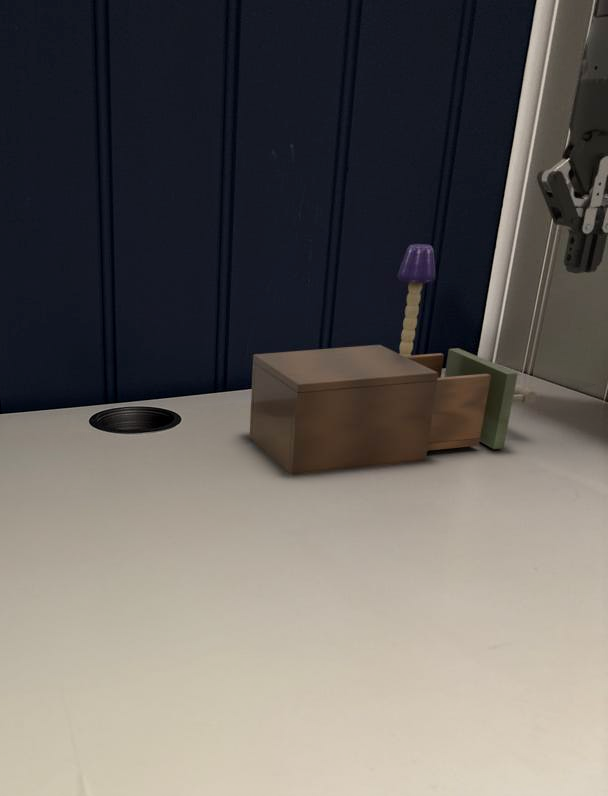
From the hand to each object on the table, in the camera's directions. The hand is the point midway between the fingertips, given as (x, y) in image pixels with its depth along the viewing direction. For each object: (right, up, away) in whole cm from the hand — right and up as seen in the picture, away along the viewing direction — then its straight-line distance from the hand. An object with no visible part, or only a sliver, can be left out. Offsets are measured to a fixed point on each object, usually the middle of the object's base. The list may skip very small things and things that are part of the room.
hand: (580, 271), depth 95 cm
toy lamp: (-10, -3, +29) cm, 31 cm away
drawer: (-13, -16, +6) cm, 21 cm away
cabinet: (-25, -18, +4) cm, 31 cm away
